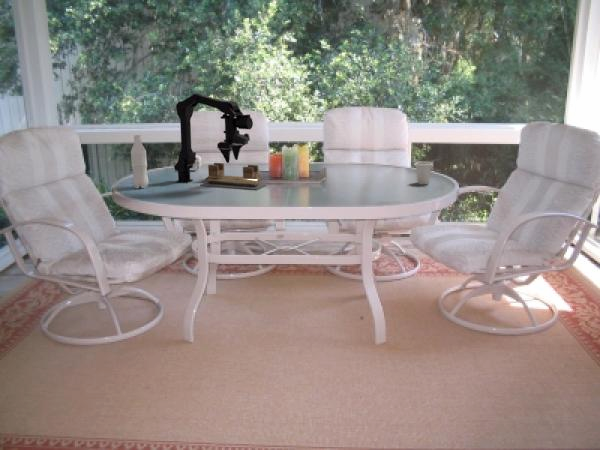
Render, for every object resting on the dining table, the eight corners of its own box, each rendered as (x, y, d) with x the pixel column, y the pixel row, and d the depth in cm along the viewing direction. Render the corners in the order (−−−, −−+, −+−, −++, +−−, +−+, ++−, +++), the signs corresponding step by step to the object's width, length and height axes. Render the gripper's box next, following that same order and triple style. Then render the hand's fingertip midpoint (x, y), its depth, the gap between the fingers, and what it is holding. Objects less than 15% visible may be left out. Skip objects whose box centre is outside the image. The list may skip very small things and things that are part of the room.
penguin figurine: (199, 155, 324) (177, 157, 325) (201, 171, 327) (180, 173, 327) (201, 153, 331) (179, 156, 331) (203, 169, 333) (182, 171, 333)
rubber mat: (257, 190, 280) (257, 188, 280) (200, 186, 290) (200, 184, 289) (266, 185, 290) (266, 184, 290) (210, 181, 300) (210, 180, 299)
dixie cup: (431, 184, 290) (433, 164, 287) (414, 184, 292) (415, 164, 289) (431, 181, 298) (432, 161, 295) (414, 181, 300) (415, 161, 297)
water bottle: (144, 189, 282) (140, 136, 275) (130, 188, 284) (126, 136, 277) (151, 186, 289) (147, 134, 282) (137, 185, 290) (133, 134, 284)
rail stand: (254, 184, 293) (254, 168, 291) (205, 180, 302) (204, 165, 299) (261, 180, 301) (261, 165, 299) (213, 177, 310) (213, 162, 308)
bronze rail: (256, 188, 284) (255, 181, 282) (207, 184, 292) (206, 178, 290) (259, 184, 287) (258, 177, 285) (210, 180, 295) (209, 174, 293)
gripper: (238, 131, 271) (239, 165, 276) (254, 127, 288) (255, 159, 293) (216, 130, 275) (217, 164, 279) (233, 126, 292) (234, 158, 296)
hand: (232, 161), depth 287 cm, fingers open, 9 cm apart
